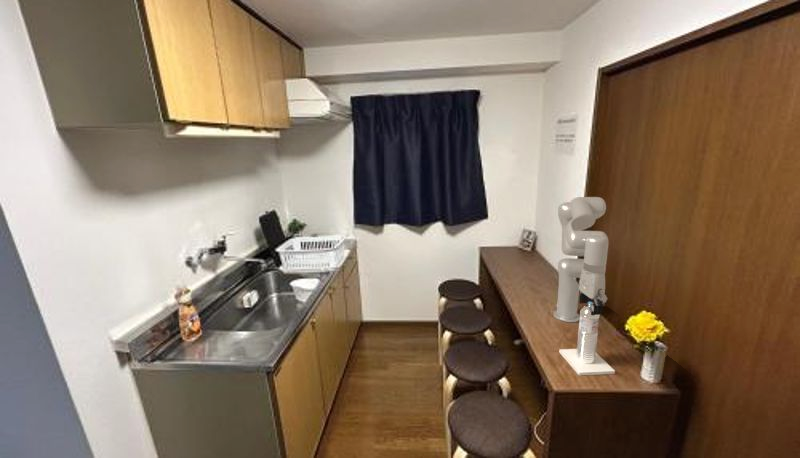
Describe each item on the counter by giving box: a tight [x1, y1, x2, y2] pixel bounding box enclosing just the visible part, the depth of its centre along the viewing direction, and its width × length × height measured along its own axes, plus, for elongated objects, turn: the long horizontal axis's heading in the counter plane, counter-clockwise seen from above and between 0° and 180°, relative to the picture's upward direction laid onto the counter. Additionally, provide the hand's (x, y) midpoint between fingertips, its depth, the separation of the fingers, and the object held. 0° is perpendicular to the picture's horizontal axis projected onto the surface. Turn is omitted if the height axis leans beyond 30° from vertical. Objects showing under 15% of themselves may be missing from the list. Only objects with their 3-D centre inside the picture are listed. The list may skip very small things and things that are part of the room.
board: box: [558, 348, 616, 376], centre depth 139 cm, size 16×14×1 cm
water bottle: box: [576, 301, 601, 363], centre depth 137 cm, size 7×7×25 cm
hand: (590, 308), depth 135 cm, fingers open, 9 cm apart
